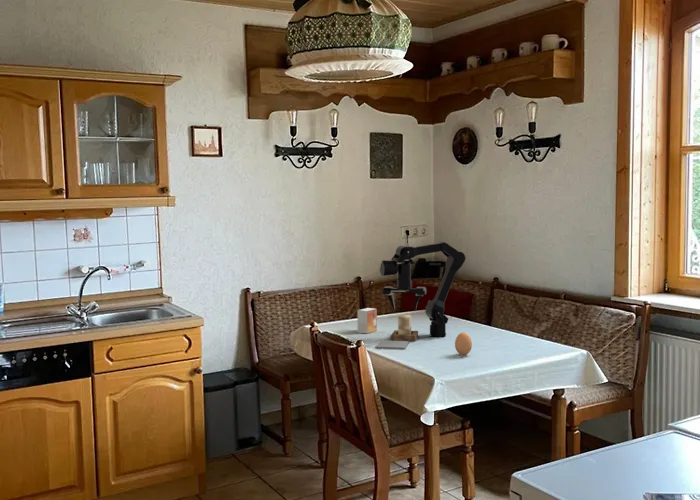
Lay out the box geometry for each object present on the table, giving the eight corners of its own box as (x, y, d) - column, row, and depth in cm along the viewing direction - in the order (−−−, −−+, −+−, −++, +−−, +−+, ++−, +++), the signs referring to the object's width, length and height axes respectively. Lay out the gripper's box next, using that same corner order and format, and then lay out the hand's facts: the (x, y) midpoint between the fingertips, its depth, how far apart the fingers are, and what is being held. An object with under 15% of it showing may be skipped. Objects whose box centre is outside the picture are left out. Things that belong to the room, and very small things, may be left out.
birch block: (411, 337, 316) (411, 315, 315) (409, 340, 311) (409, 317, 310) (399, 337, 317) (399, 314, 316) (398, 339, 312) (398, 316, 312)
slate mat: (408, 343, 305) (408, 341, 305) (405, 349, 293) (405, 347, 293) (381, 342, 307) (381, 340, 307) (376, 348, 296) (376, 346, 296)
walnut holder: (418, 336, 318) (418, 330, 318) (415, 341, 308) (415, 335, 308) (394, 335, 321) (394, 330, 320) (391, 340, 310) (391, 334, 310)
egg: (451, 355, 282) (451, 332, 282) (461, 352, 287) (461, 329, 286) (465, 358, 278) (465, 334, 277) (475, 354, 282) (475, 332, 281)
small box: (367, 334, 325) (367, 311, 324) (357, 332, 329) (357, 309, 328) (377, 331, 332) (377, 308, 331) (367, 329, 335) (367, 307, 334)
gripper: (427, 272, 318) (427, 307, 319) (386, 272, 322) (386, 306, 323) (424, 275, 307) (425, 311, 308) (381, 275, 311) (382, 311, 312)
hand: (404, 310), depth 313 cm, fingers open, 9 cm apart
